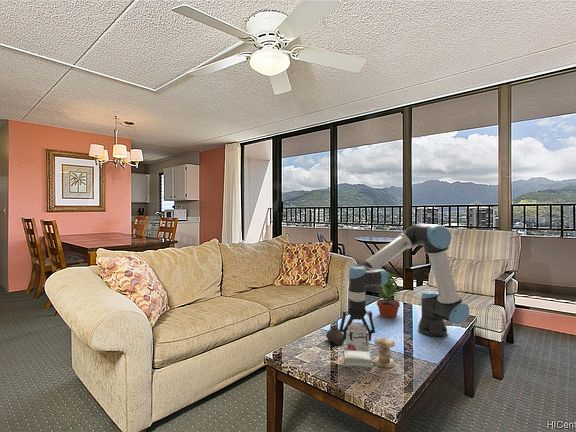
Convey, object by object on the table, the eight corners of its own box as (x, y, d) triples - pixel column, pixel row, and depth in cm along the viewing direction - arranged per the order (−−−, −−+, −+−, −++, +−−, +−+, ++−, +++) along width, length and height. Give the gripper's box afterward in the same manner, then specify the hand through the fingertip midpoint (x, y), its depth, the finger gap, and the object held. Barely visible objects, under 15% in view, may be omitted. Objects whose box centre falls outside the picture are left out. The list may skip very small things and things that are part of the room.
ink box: (347, 349, 153) (347, 325, 152) (348, 345, 157) (348, 321, 157) (366, 352, 150) (366, 326, 150) (366, 347, 155) (366, 323, 154)
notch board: (368, 352, 160) (368, 346, 160) (372, 366, 146) (372, 360, 146) (344, 350, 162) (344, 345, 162) (345, 365, 147) (345, 359, 147)
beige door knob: (392, 358, 153) (392, 337, 153) (396, 368, 144) (396, 346, 144) (373, 357, 154) (373, 337, 154) (375, 367, 145) (375, 345, 145)
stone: (346, 349, 172) (344, 331, 179) (345, 342, 166) (343, 324, 173) (328, 351, 174) (326, 333, 181) (326, 344, 168) (324, 326, 175)
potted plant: (404, 319, 206) (404, 272, 205) (380, 319, 206) (380, 272, 206) (396, 311, 221) (396, 267, 220) (374, 311, 221) (374, 268, 220)
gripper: (379, 298, 155) (379, 344, 156) (334, 296, 158) (334, 342, 159) (382, 302, 148) (381, 351, 149) (334, 301, 151) (334, 348, 151)
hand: (357, 346), depth 154 cm, fingers closed on ink box, 9 cm apart
